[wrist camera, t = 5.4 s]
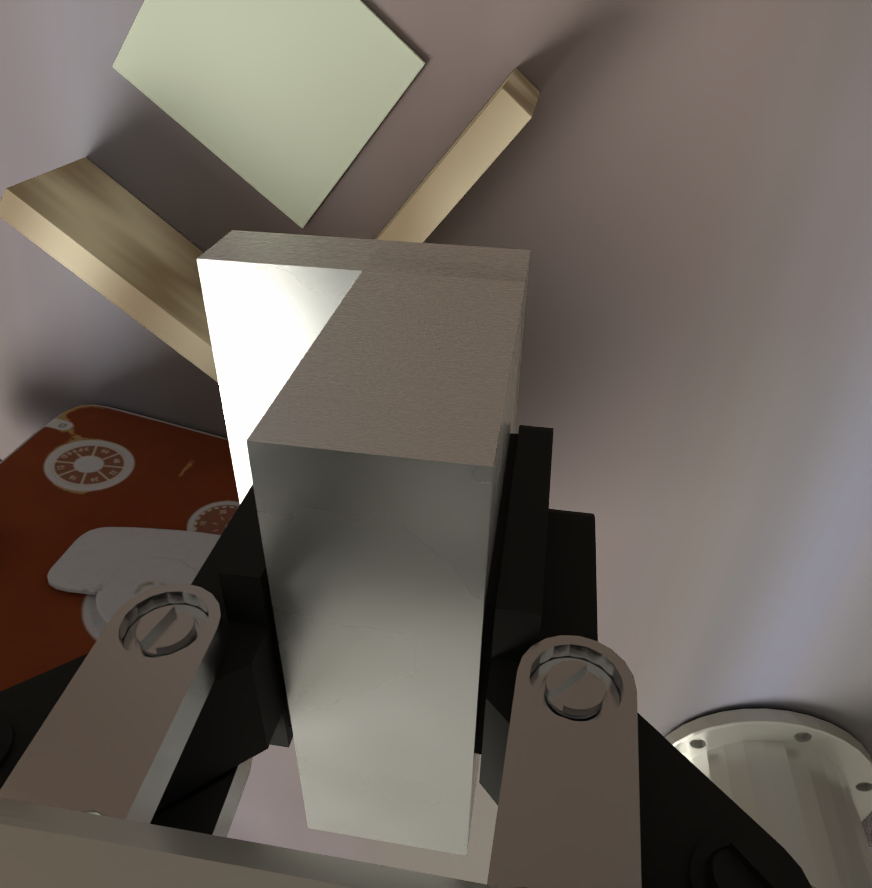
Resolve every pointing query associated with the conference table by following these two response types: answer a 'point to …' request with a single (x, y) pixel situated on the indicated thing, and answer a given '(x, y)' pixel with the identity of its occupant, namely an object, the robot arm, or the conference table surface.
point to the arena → (175, 258)
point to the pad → (272, 85)
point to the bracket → (373, 501)
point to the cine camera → (100, 526)
